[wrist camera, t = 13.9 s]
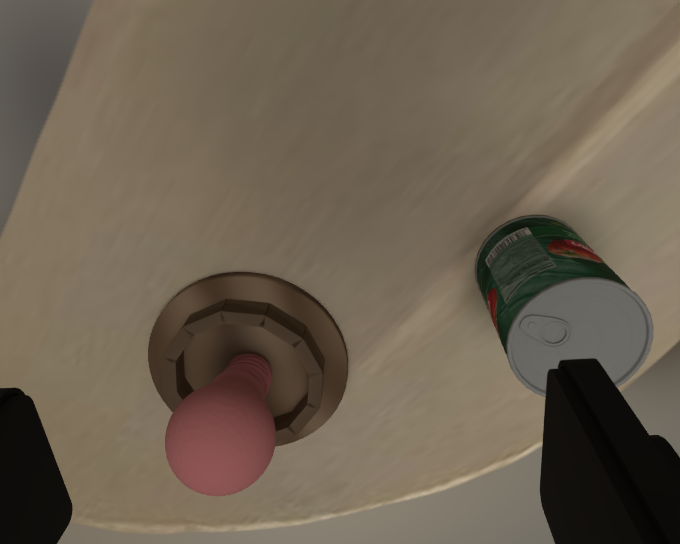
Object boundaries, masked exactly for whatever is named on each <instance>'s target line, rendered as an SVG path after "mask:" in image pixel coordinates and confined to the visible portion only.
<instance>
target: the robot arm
mask: <svg viewBox="0 0 680 544" xmlns="http://www.w3.org/2000/svg"><path fill="white" fill-rule="evenodd" d="M540 496H541V503H542V507H543V510H544V513H545V516H546V519H547V522H548V524H549V527H550V530H551V533H552V536H553V539H554V541H555V544H680V457H679V456H678V455H677V453H676V452H675V451H674V449H673V448H672V446H671V445H670V444H669V443H668V442H667V440H666V439H664V438H663V437H661V436H659V435H649V434H648V433H647V431H646V430H645V428H644V427H643V425H642V424H641V422H640V421H639V419H638V418H637V417H636V415H635V414H634V412H633V411H632V409H631V408H630V406H629V405H628V403H627V402H626V400H625V399H624V397H623V396H622V395H621V393H620V392H619V390H618V389H617V387H616V386H615V384H614V383H613V381H612V380H611V378H610V377H609V375H608V374H607V372H606V371H605V369H604V368H603V367H602V365H601V364H600V362H599V361H598V360H597V359H595V358H588V359H569V360H561V361H560V362H559V364H558V369H549V370H548V373H547V384H546V400H545V415H544V431H543V447H542V463H541V478H540ZM71 516H72V503H71V499H70V497H69V494H68V492H67V489H66V486H65V484H64V481H63V478H62V476H61V473H60V471H59V468H58V465H57V463H56V460H55V457H54V455H53V452H52V449H51V447H50V444H49V442H48V439H47V436H46V434H45V431H44V428H43V426H42V423H41V420H40V418H39V415H38V413H37V410H36V407H35V405H34V402H33V400H32V398H30V397H29V396H27V395H25V394H24V392H23V391H22V390H20V389H18V388H0V544H57V543H58V541H59V539H60V538H61V536H62V534H63V533H64V531H65V529H66V528H67V526H68V524H69V522H70V520H71Z"/></svg>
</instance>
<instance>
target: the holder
mask: <svg viewBox="0 0 680 544" xmlns="http://www.w3.org/2000/svg"><path fill="white" fill-rule="evenodd" d="M241 354H256V355H258V356H260V357H262V358H263V359H264V360H266V361H267V362H268V364H269V365H270V367H271V371H272V381H271V384H270V387H269V390H268V392H267V395H266V396H265V401H266V403H267V405H268V407H269V409H270V412H271V414H272V417H273V419H274V423H275V429H276V442H275V446H280V445H285V444H288V443H292V442H295V441H297V440H299V439H302V438H304V437H306V436H308V435H309V434H311V433H313V432H314V431H316V430H317V429H318V428H320V427H321V426H322V425H323V424H324V423H325V422H326V421H327V420H328V419H329V418H330V417H331V416H332V414H333V413H334V412H335V410H336V409H337V407H338V405H339V403H340V402H341V400H342V397H343V394H344V391H345V388H346V382H347V374H348V357H347V349H346V346H345V342H344V339H343V336H342V334H341V332H340V330H339V327H338V326H337V324H336V323H335V321H334V319H333V318H332V316H331V315H330V314H329V313H328V312H327V310H326V309H325V308H324V307H323V306H322V305H321V304H320V303H319V302H318V301H317V300H316V299H315V298H313V297H312V296H311V295H309V294H308V293H306V292H305V291H304V290H302V289H300V288H298V287H297V286H295V285H293V284H291V283H289V282H286V281H284V280H281V279H279V278H275V277H272V276H268V275H264V274H257V273H249V272H233V273H223V274H219V275H214V276H210V277H208V278H205V279H202V280H199V281H197V282H195V283H193V284H192V285H190V286H188V287H187V288H185V289H184V290H182V291H181V292H180V293H178V294H177V295H176V296H175V297H174V298H173V299H172V300H171V301H170V302H169V304H168V305H167V306H166V308H165V309H164V310H163V312H162V313H161V314H160V316H159V317H158V319H157V321H156V323H155V325H154V327H153V330H152V333H151V336H150V341H149V347H148V361H149V368H150V373H151V376H152V379H153V382H154V384H155V387H156V389H157V391H158V393H159V394H160V396H161V398H162V399H163V401H164V402H165V403H166V405H167V406H168V407H169V408H170V410H171V411H172V412H174V411H175V409H176V408H177V406H178V405H179V404H180V403H181V402H182V401H183V400H184V399H185V398H186V397H187V396H188V395H189V394H191V393H192V392H194V391H196V390H197V389H199V388H201V387H203V386H205V385H207V384H209V383H211V382H213V380H214V379H215V378H216V377H217V376H218V375H219V374H221V373H222V372H224V371H225V369H226V368H227V366H228V365H229V363H230V362H231V360H232V359H233V358H235V357H236V356H238V355H241Z"/></svg>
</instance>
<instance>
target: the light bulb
mask: <svg viewBox="0 0 680 544" xmlns="http://www.w3.org/2000/svg"><path fill="white" fill-rule="evenodd" d="M271 381H272V371H271V367H270V365H269V364H268V362H267V361H266V360H264V359H263V358H262V357H260V356H258V355H256V354H241V355H238V356H236V357H235V358H233V359H232V360H231V362H230V363H229V365H228V366H227V368H226V369H225V371H224V372H222V373H221V374H219V375H218V376H217V377H216V378H215V379H214V380H213V382H211V383H209V384H207V385H205V386H203V387H201V388H199V389H197V390H196V391H194V392H192V393H191V394H189V395H188V396H187V397H186V398H185V399H184V400H183V401H182V402H181V403H180V404H179V405H178V406H177V408H176V409H175V411H174V412H173V414H172V416H171V418H170V420H169V423H168V426H167V430H166V436H165V450H166V455H167V459H168V462H169V465H170V467H171V469H172V471H173V472H174V474H175V475H176V476H177V478H178V479H179V480H180V481H181V482H182V483H183V484H184V485H186V486H187V487H188V488H190V489H192V490H194V491H196V492H198V493H201V494H204V495H209V496H225V495H230V494H234V493H237V492H239V491H242V490H243V489H245V488H247V487H249V486H250V485H251V484H253V483H254V482H255V481H256V480H257V479H258V478H259V477H260V476H261V475H262V474H263V473H264V471H265V470H266V468H267V466H268V465H269V463H270V461H271V458H272V456H273V452H274V449H275V442H276V429H275V423H274V419H273V417H272V414H271V412H270V409H269V407H268V405H267V403H266V401H265V396H266V395H267V392H268V390H269V387H270V384H271Z"/></svg>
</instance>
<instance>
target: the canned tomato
mask: <svg viewBox="0 0 680 544" xmlns="http://www.w3.org/2000/svg"><path fill="white" fill-rule="evenodd" d="M475 275H476V282H477V284H478V287H479V290H480V291H481V293H482V296H483V299H484V301H485V304H486V306H487V309H488V311H489V313H490V316H491V318H492V321H493V323H494V326H495V328H496V331H497V333H498V335H499V338H500V340H501V343H502V345H503V347H504V350H505V353H506V355H507V358H508V361H509V364H510V367H511V369H512V371H513V372H514V374H515V375H516V377H517V378H518V380H519V381H521V382H522V383H523V384H524V385H525V386H526V387H527V388H528V389H530V390H532V391H533V392H535V393H536V394H539V395H541V396H544V397H546V384H547V373H548V370H549V369H558V364H559V362H560V361H561V360H569V359H588V358H595V359H597V360H598V361H599V362H600V364H601V365H602V367H603V368H604V369H605V371H606V372H607V374H608V375H609V377H610V378H611V380H612V381H613V383H614V384H615V386H616V387H619V386H621V385H622V384H624V383H625V382H626V381H627V380H629V379H630V378H631V377H632V376H633V375H634V374H635V373H636V372H637V371H638V369H639V368H640V367H641V366H642V364H643V363H644V361H645V359H646V357H647V355H648V353H649V351H650V348H651V344H652V341H653V323H652V318H651V314H650V312H649V310H648V308H647V306H646V304H645V303H644V302H643V301H642V299H641V298H640V297H639V296H638V295H637V294H636V293H635V292H633V291H632V290H631V289H630V288H629V287H628V286H627V285H626V284H625V283H624V281H623V280H621V279H620V278H619V276H618V275H617V274H615V273H614V271H613V270H612V269H610V268H609V266H608V265H607V264H606V263H605V262H604V261H603V260H602V259H601V258H600V257H599V256H598V255H597V254H596V253H595V252H594V251H593V250H592V249H591V248H590V247H589V246H588V245H587V244H586V243H585V242H584V241H583V240H582V239H581V238H580V237H579V236H578V235H577V234H576V232H575V231H574V230H573V229H572V228H571V227H569V226H568V225H567V224H565V223H564V222H562V221H560V220H558V219H555V218H552V217H548V216H543V215H530V216H524V217H519V218H516V219H514V220H511V221H509V222H507V223H505V224H503V225H502V226H500V227H499V228H497V229H496V230H495V231H494V232H492V233H491V234H490V236H489V237H488V238H487V239H486V240H485V241H484V243H483V245H482V247H481V248H480V250H479V253H478V256H477V259H476V265H475Z"/></svg>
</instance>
